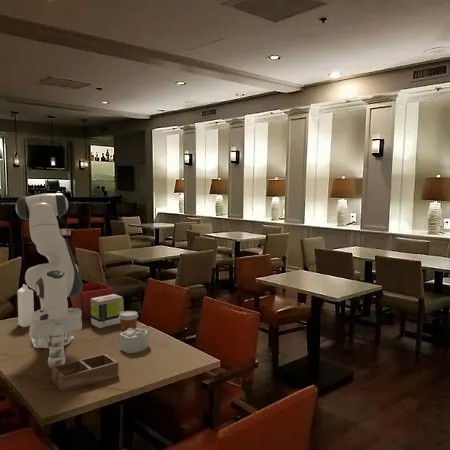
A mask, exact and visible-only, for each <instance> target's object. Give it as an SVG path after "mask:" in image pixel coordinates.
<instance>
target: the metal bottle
mask: <svg viewBox="0 0 450 450" xmlns="http://www.w3.org/2000/svg"><path fill="white" fill-rule="evenodd" d="M60 324H61V321H59V322H56V324H55V325H60ZM64 338H65V330H64V329H63V328H62V327H60V326H59V327H56V328H55V329H54V331H53V332H52V336H49V342H50V348H49V350H48V351H49V353H48V358H47V365H48V366H49V368H50V369H52V367H54V366H58V365H61V364H65V363H66V356H65V346H64Z"/></svg>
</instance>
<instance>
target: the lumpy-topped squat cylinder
mask: <svg viewBox="0 0 450 450" xmlns="http://www.w3.org/2000/svg"><path fill="white" fill-rule="evenodd" d="M148 347H149V330H148V329H144V328H141V327H136V329H133V328H129V329H127V331H124V332H122V331H121V332H120V334H119V350H120V351H121V352H124V353H126V354H133V353H134V354H135V353H140V352H143V351H144V350H146V349H148Z"/></svg>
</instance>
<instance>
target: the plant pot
mask: <svg viewBox="0 0 450 450" xmlns="http://www.w3.org/2000/svg"><path fill="white" fill-rule="evenodd" d="M82 284H83V289H82V291H81V292H80V293H79V294H78V295H77V296H76V297H69V298H70V301H71V304H72V307H73V308H72V309H74V308H78V309H80V310H81V312H82V315H81V320H89V319H90V320H91V298H96V297H101V296H106V295H112V294H113V287H111V286H108V285H106V284H104V283H101V282H93V283H91V282H90V283H82Z"/></svg>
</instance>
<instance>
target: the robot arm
mask: <svg viewBox="0 0 450 450" xmlns="http://www.w3.org/2000/svg"><path fill="white" fill-rule="evenodd" d="M68 209H69V201H68V199H67V197H66V195H65V194H64V193H61V192H55V193H39V194H35V195H29V196H26V195H25V196H21V197H19V198H18V199H17V200H16V204H15V212H16V214H17V216H18V217H19V218H20V219H21V220H26V221H28V224H29V234H30V238H31V241H32V243H33V244H34V245H35V247H36V251H37V253H39V254H40V255H42V256H44V257H45V258H46V259H47V261H48V262H47V263H42V264H37V265H34V266H31V267H29V268H28V269H27V270H26V272H25V275H24V280H25V283H26V285H27V286H28V288H29V289H31V290H33V291H34V292H35V295H36V297H38V298H39V301H40V309H37V310H36V311H35V310H34V312H33V313H32V317H33V318H34V319H33V320H32V321H31V323H30V326H29V337H30V340H31V343H32V346H33V348H35V349H39V348H41V349H50V342H49V336H52V332H53V331H54V329H55V328H56V327H59V326H60V327H62V328H63V329H64V330H65V338H64V347H65V346H67V345H69V344H70V343H71V341H74V339H75V337H74V336H73V335H72V333H73V332H76V331H81V329H82V328H83V322H82V320H83V319H82V318H81V315H82V312H81V310H80V309H78V308H70V309H69V302H68V298H70V297H76V296H77V295H78V294H79V293H80V292H81V291H82V289H83V284H84V283H83V281H82V277H81V276H80V272H79V267H78V265H77V264H76V262H75V261H76V260H75V259H74V255H73V252H72V249H71V246H70V243H69V242H68V240H67V238H65V237H63V236H62V235H61V233H60V231H61V230H60V227H59V221H58V219H57V217H59V219H61V218H62V217H63V216H64V215H66V214H67V212H68ZM59 321H61V324H60V325H55V324H56V322H59Z"/></svg>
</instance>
